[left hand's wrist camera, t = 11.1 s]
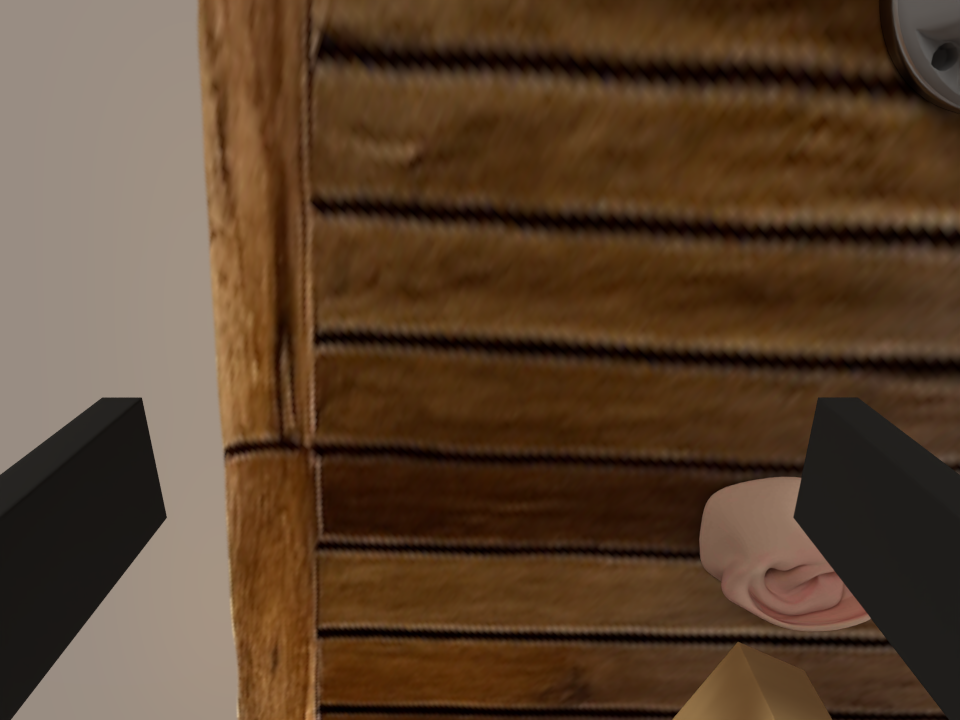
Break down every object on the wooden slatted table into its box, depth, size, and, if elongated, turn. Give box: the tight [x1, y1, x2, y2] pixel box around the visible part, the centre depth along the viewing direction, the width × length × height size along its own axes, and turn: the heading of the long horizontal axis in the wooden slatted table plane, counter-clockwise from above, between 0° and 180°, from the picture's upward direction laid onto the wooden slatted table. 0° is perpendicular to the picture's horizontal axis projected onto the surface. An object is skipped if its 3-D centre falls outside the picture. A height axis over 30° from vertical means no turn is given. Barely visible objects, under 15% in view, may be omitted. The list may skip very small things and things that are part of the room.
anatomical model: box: [699, 477, 871, 631], centre depth 47 cm, size 13×4×12 cm
